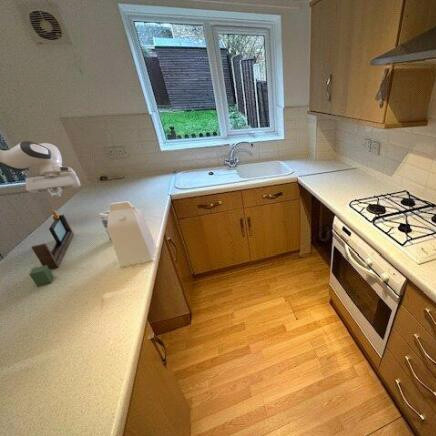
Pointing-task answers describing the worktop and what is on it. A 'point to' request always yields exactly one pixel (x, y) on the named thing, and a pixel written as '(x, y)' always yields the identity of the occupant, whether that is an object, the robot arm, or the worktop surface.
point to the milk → (130, 234)
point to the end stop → (41, 275)
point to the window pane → (58, 228)
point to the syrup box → (105, 221)
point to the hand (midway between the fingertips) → (56, 196)
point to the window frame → (54, 248)
